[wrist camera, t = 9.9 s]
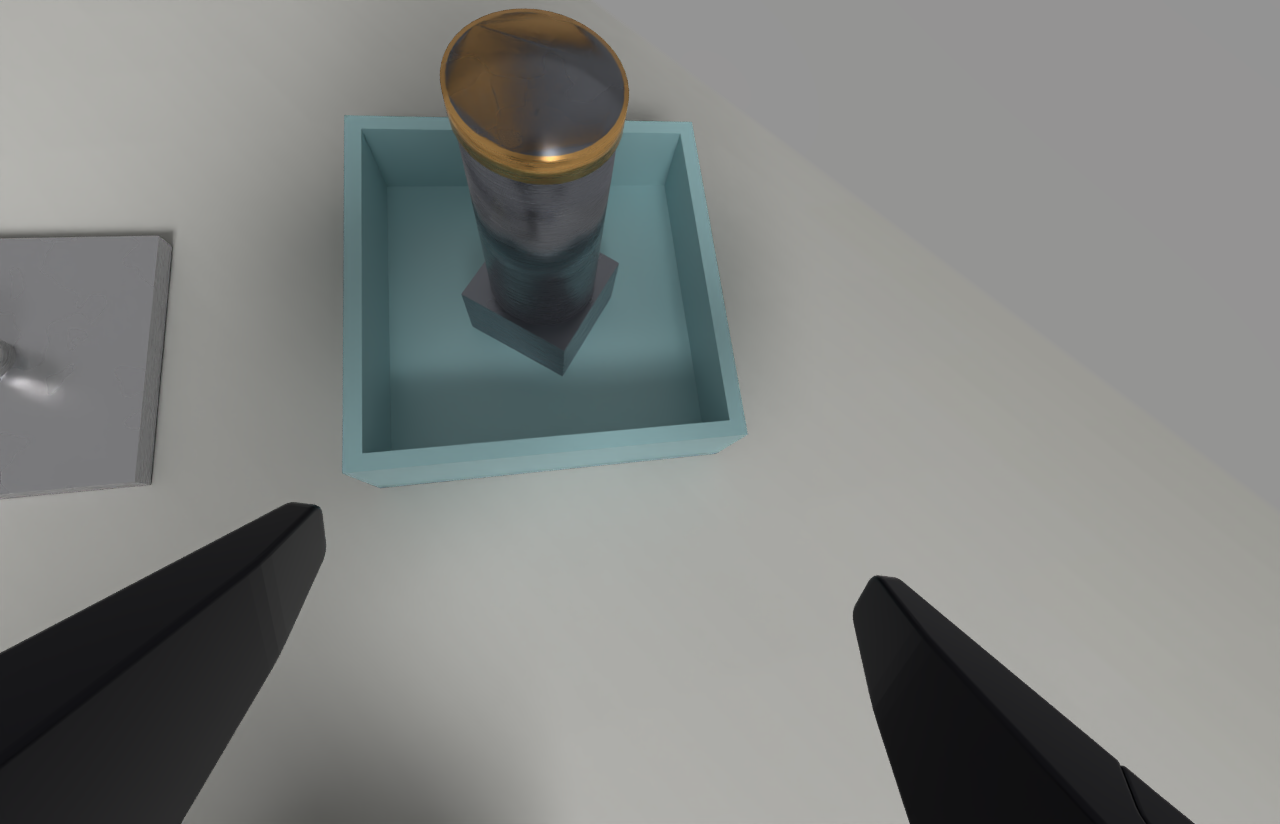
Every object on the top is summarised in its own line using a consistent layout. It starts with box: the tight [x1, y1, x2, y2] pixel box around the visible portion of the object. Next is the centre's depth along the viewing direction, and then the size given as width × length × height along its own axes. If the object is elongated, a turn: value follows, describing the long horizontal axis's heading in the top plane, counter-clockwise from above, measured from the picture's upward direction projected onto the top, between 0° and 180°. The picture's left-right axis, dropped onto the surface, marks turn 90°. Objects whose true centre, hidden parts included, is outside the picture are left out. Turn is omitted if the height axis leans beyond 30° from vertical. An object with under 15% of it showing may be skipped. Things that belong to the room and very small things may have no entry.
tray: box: [342, 115, 747, 488], centre depth 22 cm, size 14×14×4 cm
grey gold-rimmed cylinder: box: [440, 9, 629, 376], centre depth 18 cm, size 4×4×12 cm
